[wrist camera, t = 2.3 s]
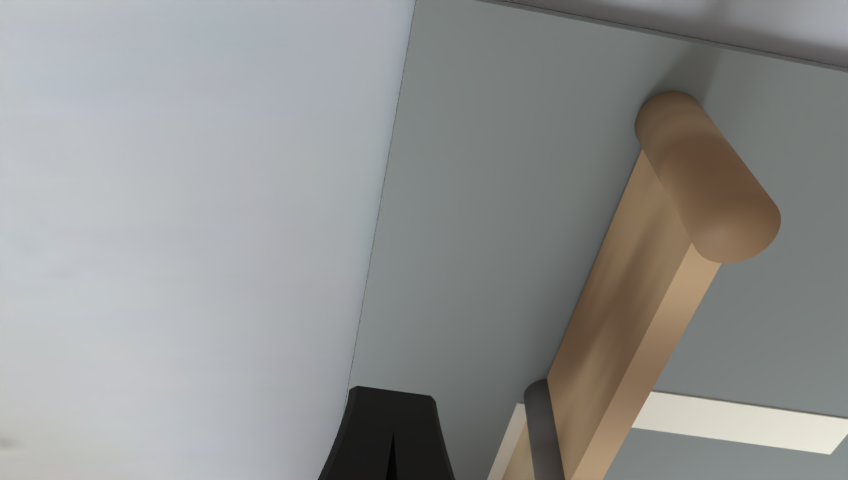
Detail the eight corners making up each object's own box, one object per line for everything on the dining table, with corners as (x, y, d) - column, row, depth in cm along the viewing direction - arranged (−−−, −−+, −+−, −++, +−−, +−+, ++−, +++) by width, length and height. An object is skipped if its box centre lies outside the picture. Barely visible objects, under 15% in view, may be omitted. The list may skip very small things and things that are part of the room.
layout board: (801, 586, 30) (806, 597, 30) (322, 531, 28) (321, 541, 28) (1232, 143, 17) (1250, 151, 17) (418, -16, 15) (418, -11, 15)
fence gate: (582, 380, 22) (613, 510, 18) (534, 373, 22) (555, 503, 18) (713, 97, 16) (796, 200, 12) (649, 85, 16) (714, 186, 12)
